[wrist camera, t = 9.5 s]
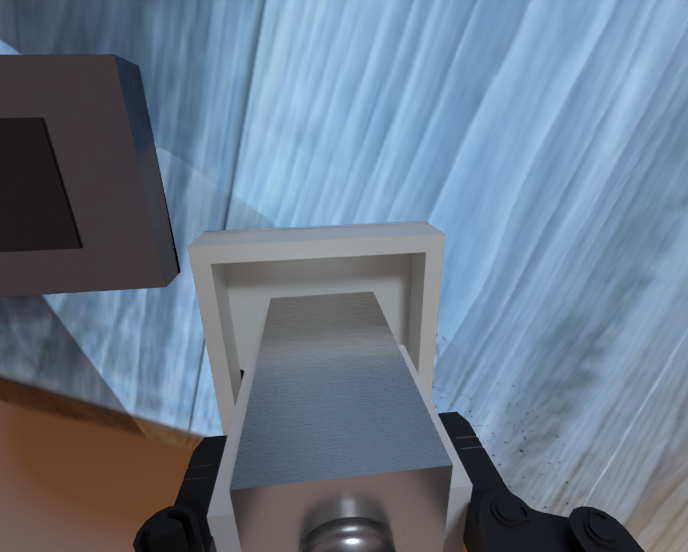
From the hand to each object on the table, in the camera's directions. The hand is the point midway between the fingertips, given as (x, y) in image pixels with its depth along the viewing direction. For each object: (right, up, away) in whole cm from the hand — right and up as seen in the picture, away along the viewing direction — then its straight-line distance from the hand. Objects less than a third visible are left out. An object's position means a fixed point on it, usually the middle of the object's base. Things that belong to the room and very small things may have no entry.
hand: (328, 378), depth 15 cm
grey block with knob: (0, +1, +3) cm, 3 cm away
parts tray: (-1, +2, +5) cm, 5 cm away
